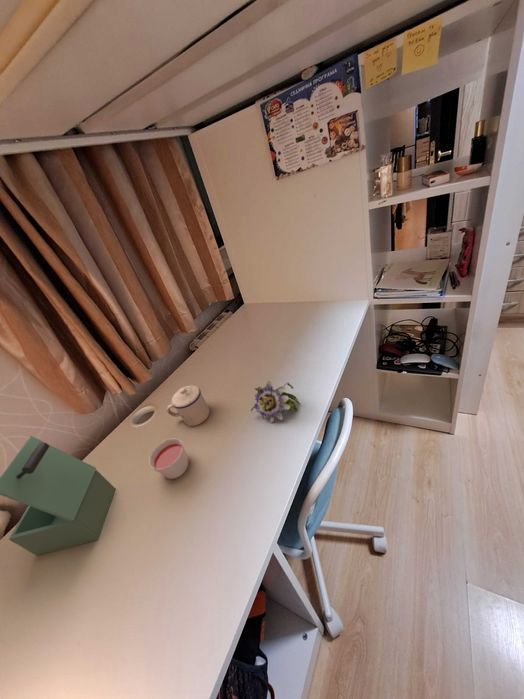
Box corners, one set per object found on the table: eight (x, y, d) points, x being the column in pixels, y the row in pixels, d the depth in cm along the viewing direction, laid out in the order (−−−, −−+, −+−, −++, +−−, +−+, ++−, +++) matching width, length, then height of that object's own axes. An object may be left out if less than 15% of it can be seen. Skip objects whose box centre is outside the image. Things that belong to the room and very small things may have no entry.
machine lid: (-10, 491, 53) (6, 478, 52) (29, 437, 64) (43, 425, 63) (71, 521, 61) (87, 511, 60) (94, 469, 72) (108, 459, 70)
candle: (156, 466, 79) (145, 453, 75) (186, 446, 82) (176, 432, 78) (166, 490, 72) (154, 476, 69) (197, 467, 75) (187, 453, 72)
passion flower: (277, 432, 84) (244, 417, 79) (279, 401, 91) (248, 385, 86) (304, 419, 77) (270, 401, 72) (304, 386, 84) (272, 367, 80)
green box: (36, 555, 67) (8, 539, 63) (62, 502, 78) (40, 485, 73) (97, 540, 66) (74, 522, 61) (115, 488, 77) (96, 469, 72)
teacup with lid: (210, 401, 95) (197, 375, 89) (210, 421, 87) (195, 394, 81) (176, 412, 95) (160, 387, 89) (173, 433, 88) (155, 407, 81)
